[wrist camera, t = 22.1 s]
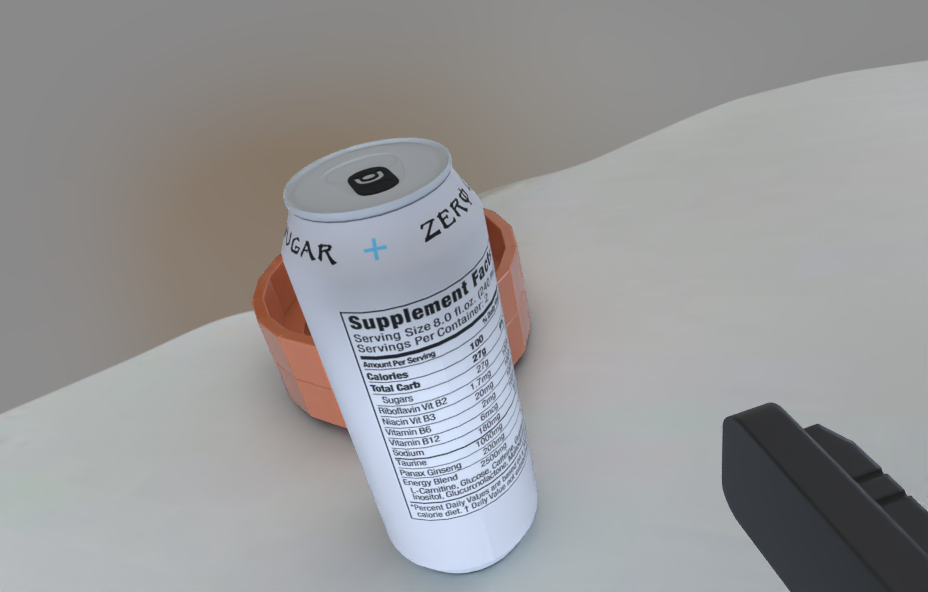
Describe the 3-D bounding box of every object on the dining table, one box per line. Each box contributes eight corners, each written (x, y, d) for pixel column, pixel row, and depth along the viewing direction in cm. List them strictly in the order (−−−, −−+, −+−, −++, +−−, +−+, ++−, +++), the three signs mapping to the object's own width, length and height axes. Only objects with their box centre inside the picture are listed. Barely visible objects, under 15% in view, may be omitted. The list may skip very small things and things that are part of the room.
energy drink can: (499, 440, 31) (426, 114, 23) (570, 538, 26) (510, 169, 18) (372, 500, 30) (245, 174, 21) (422, 616, 25) (284, 252, 17)
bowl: (512, 262, 43) (497, 181, 40) (552, 406, 32) (537, 309, 29) (303, 306, 44) (273, 228, 41) (272, 462, 33) (228, 372, 30)
